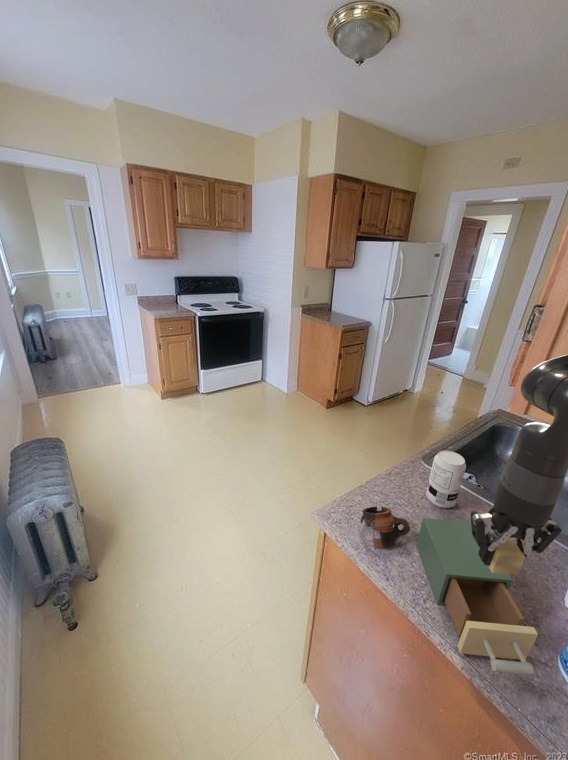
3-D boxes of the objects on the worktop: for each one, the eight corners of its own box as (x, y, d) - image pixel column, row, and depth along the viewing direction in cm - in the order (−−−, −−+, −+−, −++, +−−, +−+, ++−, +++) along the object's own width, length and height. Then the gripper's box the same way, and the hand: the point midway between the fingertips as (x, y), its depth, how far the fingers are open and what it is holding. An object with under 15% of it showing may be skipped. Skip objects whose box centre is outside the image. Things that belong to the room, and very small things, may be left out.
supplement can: (422, 488, 100) (431, 448, 95) (450, 491, 99) (461, 450, 94) (429, 507, 93) (440, 464, 87) (459, 511, 92) (472, 467, 86)
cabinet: (499, 610, 66) (512, 580, 63) (437, 604, 67) (446, 574, 64) (467, 550, 80) (476, 522, 76) (416, 545, 81) (422, 518, 77)
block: (504, 553, 60) (511, 536, 58) (518, 575, 56) (526, 557, 54) (479, 551, 60) (486, 533, 59) (491, 573, 56) (498, 554, 55)
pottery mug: (362, 550, 80) (358, 515, 81) (364, 536, 89) (360, 505, 90) (413, 550, 76) (408, 514, 77) (410, 536, 85) (405, 504, 86)
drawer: (542, 692, 53) (557, 666, 51) (471, 684, 54) (482, 658, 51) (487, 587, 70) (496, 563, 67) (433, 582, 71) (440, 558, 68)
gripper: (494, 499, 49) (467, 578, 55) (594, 507, 48) (555, 586, 54) (471, 468, 55) (449, 541, 62) (558, 475, 55) (527, 548, 61)
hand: (499, 562), depth 58 cm, fingers closed on block, 4 cm apart
